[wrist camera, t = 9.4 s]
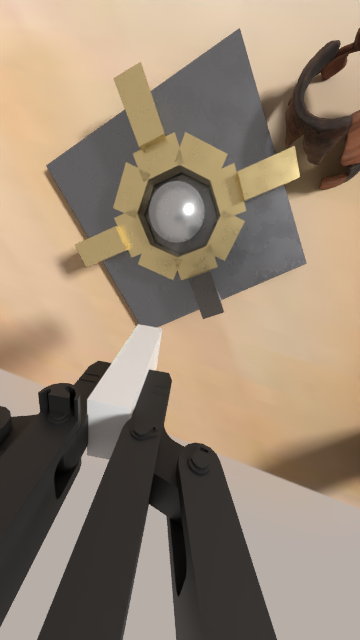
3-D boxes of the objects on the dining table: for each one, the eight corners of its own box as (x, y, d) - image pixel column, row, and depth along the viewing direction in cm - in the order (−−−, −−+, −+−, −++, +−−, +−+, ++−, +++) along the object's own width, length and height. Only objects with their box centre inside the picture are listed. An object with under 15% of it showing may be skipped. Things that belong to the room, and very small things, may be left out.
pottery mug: (291, 209, 25) (294, 162, 18) (276, 133, 26) (272, 58, 19) (436, 159, 20) (523, 65, 13) (411, 68, 21) (479, -70, 14)
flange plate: (302, 262, 27) (332, 271, 21) (146, 329, 32) (134, 352, 26) (237, 37, 20) (254, -44, 14) (51, 168, 25) (5, 149, 19)
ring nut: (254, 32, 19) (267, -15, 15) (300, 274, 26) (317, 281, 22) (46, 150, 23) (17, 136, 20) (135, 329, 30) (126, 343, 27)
